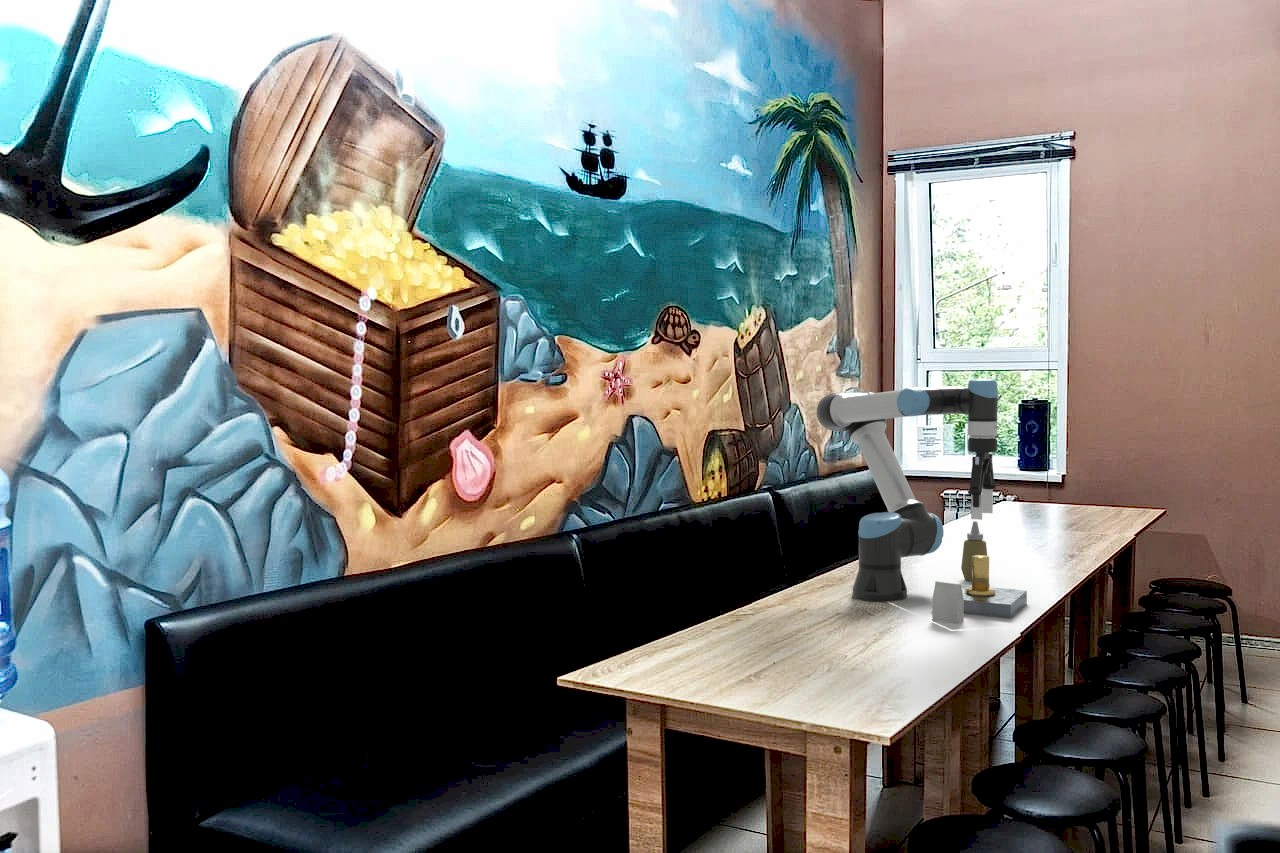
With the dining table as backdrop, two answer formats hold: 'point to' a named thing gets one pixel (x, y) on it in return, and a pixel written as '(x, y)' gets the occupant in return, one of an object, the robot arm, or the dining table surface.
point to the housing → (995, 602)
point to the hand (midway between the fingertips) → (982, 516)
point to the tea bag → (948, 602)
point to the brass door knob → (980, 577)
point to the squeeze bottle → (972, 550)
